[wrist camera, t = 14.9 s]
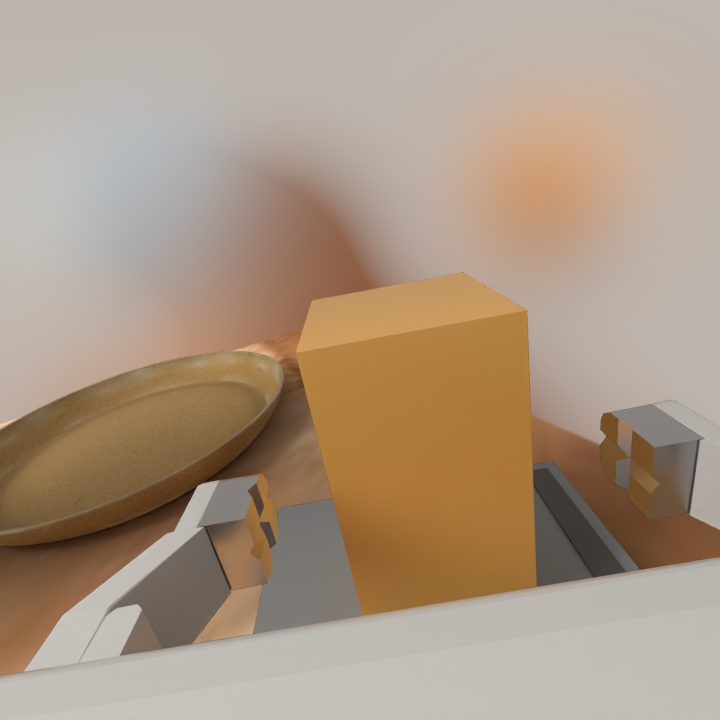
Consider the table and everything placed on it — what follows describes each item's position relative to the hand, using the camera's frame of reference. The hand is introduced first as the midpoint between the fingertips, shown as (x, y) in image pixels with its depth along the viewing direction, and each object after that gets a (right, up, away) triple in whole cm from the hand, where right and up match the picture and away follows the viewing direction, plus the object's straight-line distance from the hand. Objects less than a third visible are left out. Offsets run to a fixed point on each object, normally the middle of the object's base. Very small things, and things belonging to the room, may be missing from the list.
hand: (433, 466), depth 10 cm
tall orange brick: (+1, -5, +5) cm, 7 cm away
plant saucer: (-19, -5, +23) cm, 30 cm away
